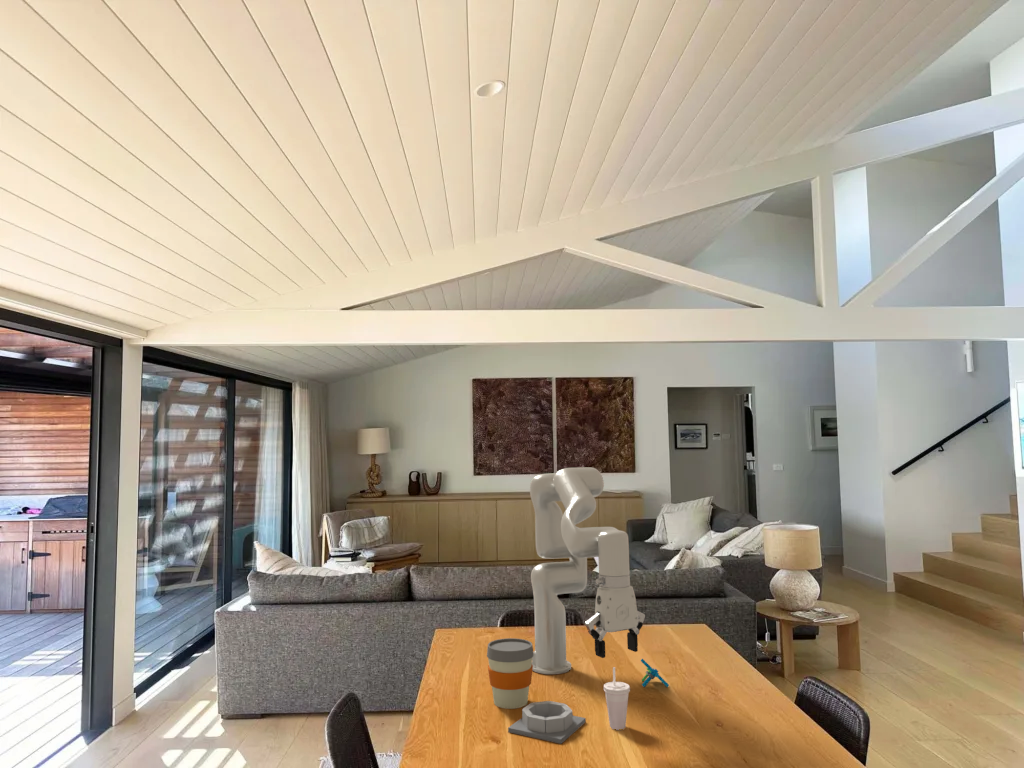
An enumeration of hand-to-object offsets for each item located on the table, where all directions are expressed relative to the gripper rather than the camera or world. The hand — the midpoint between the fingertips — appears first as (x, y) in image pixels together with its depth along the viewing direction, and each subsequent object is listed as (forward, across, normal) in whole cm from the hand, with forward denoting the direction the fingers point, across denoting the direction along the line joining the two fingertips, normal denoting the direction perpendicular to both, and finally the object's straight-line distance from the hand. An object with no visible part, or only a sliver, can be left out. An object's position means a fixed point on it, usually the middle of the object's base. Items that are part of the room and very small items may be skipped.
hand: (616, 653), depth 170 cm
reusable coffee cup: (+17, -15, +28) cm, 36 cm away
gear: (+17, +26, +19) cm, 37 cm away
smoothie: (+18, 0, +1) cm, 18 cm away
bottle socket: (+17, -15, +9) cm, 24 cm away
